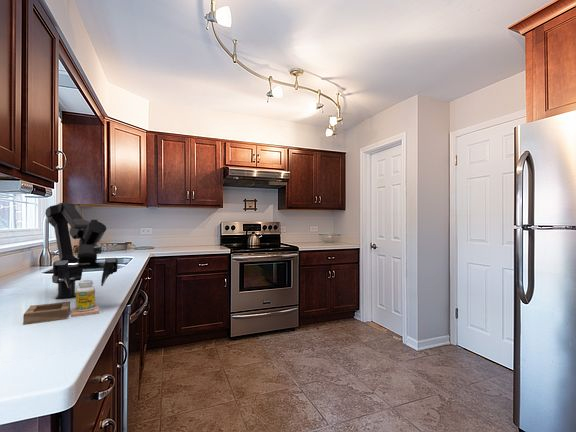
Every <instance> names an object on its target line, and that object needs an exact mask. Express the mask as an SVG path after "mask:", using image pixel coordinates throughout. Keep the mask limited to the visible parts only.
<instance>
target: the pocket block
mask: <svg viewBox="0 0 576 432" xmlns="http://www.w3.org/2000/svg"><path fill="white" fill-rule="evenodd" d="M70 311H71V301H62V302H51V303H44V304H43V303H42V304H35V305H30V306H29V307H28V308H27V310H26V311H25V312H24V314H23V315H22V316H23V317H22V318H23V323H22V324H23V325H24V326H25V325H31V324H38V323H45V322H53V321H54V322H55V321H61V320H62V321H63V320H67V319H68V318H69V315H70Z"/></svg>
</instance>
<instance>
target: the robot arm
mask: <svg viewBox="0 0 576 432" xmlns="http://www.w3.org/2000/svg"><path fill="white" fill-rule="evenodd" d="M75 205H76V204H75V203H72V202H60V203H58V204H54V205H50V206H48V207H47V208H46V209H45V217H46V218H47V221H48V224H50V225H51V226H52V227H53V228H54V235H55V239H56V247H57V251H58V257H59V258H58V259H59V260H55V261H54V262H53V264H52V268H53V270H52V271H53V275H52V277H51V279H52V280H51V281H52V283H53V284H57V294H56V296H55V299H56V300H58V299H59V300H60V299H68V298H69V299H70V298H76V281H78V282H80V281H82V276H83V271H84V270H101V269H103V270H102V275H101V282H100V283H101V284H100V285H101V287H103V286H104V285H105V282H106V280H107V279H108V277H109V276H110V275H113V274H114V273H117V272H118V266H119V265H118V263H119V262H118V258H117V257H105V259H104V262H97V260H98V254H102V243H99V242H101V240H102V238H103V236H104V234H105V233H106V231H107V226H106V225H105V224H104V223H102V222H101V221H98V219H91V220H90V221H88V220H86V219H84V218H83V217H82V215H81V214H80V212H79V211H78V210H77V208H76V206H75ZM69 226H70V228H69ZM71 237H72V238H71ZM71 239H73V240H79V241H78V248H77V249H78V250H77V251H78V252H77V254H76V256H75V255H74V251H73V245H72V240H71Z"/></svg>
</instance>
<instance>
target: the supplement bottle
mask: <svg viewBox="0 0 576 432" xmlns="http://www.w3.org/2000/svg"><path fill="white" fill-rule="evenodd" d="M93 284H94V282H93V280H91V279H89V280H88V279H87V280H80V281H78V287H77V288H76V289H75V293H76V297H75V308H76V310H77V311H79V312H83V311H90V310H93V309H94V308H95V306H96V288H95V286H93Z"/></svg>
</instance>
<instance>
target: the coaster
mask: <svg viewBox="0 0 576 432" xmlns="http://www.w3.org/2000/svg"><path fill="white" fill-rule="evenodd" d="M97 314H100V305H95V308H94V309H93V310H90V311H83V312H79V311H77V310H76V307H75V308H72V311H71V314H70V317H71V318H74V317H81V316H88V315H97Z"/></svg>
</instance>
